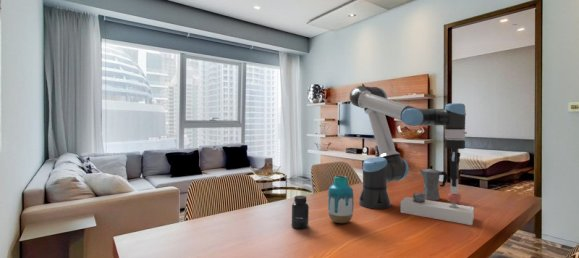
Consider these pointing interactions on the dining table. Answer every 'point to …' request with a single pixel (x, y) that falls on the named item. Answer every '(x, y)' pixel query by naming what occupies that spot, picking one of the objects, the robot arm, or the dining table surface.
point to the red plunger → (454, 199)
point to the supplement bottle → (300, 213)
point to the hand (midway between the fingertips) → (454, 193)
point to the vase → (340, 200)
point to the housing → (438, 210)
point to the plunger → (419, 197)
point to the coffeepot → (432, 183)
